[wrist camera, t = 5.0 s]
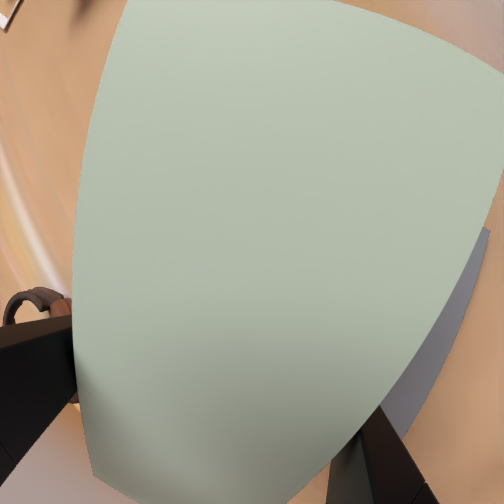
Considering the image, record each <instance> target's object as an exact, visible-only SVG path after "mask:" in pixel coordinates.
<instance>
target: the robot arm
mask: <svg viewBox="0 0 504 504" xmlns="http://www.w3.org/2000/svg"><path fill="white" fill-rule="evenodd" d="M77 392H78V390H77V381H76V372H75V361H74V347H73V330H72V314H69V315H63V316H58V317H52V318H47V319H41V320H36V321H30V322H24V323H18V324H12V325H7V326H2V327H0V487H1V485H2V484H3V483H4V481H5V480H6V479H7V477H8V476H9V474H11V472H12V471H13V470H14V469H15V467H16V465H17V464H18V463H19V462H20V460H21V459H22V458H23V457H24V456H25V454H26V453H27V452H28V451H29V449H30V448H31V447H32V446H33V444H34V443H35V442H36V441H37V440H38V438H39V437H40V436H41V435H42V433H43V432H44V431H45V430H46V428H47V427H48V426H49V425H50V424H51V423H52V421H53V420H54V419H55V418H56V416H57V415H58V414H59V413H60V412H61V410H62V409H63V408H64V407H65V406H66V405H67V403H68V402H69V401H70V400H71V399H72V397H73V396H74V395H75V394H76V393H77ZM326 504H439V502H438V501H437V499H436V497H435V496H434V494H433V492H432V491H431V489H430V487H429V486H428V484H427V483H425V479H424V477H423V476H422V474H421V472H420V471H419V469H418V467H417V466H416V464H415V462H414V460H413V459H412V457H411V455H410V454H409V452H408V450H407V449H406V447H405V445H404V444H403V442H402V441H401V439H400V437H399V436H398V434H397V432H396V431H395V429H394V427H393V426H392V424H391V422H390V421H389V419H388V418H387V416H386V414H385V413H384V411H383V409H382V408H381V406H380V405H378V407H377V408H376V409H375V410H374V412H373V413H372V414H371V415H370V417H369V418H368V419H367V420H366V422H365V423H364V424H363V425H362V426H361V428H360V429H359V430H358V431H357V432H356V433H355V435H354V436H353V437H352V438H351V439H350V440H349V441H348V442H347V444H346V445H345V446H344V447H343V448H342V449H341V450H340V451H339V452H338V453H337V455H336V456H335V457H334V458H333V459H332V460H331V465H330V472H329V481H328V489H327V497H326Z"/></svg>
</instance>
